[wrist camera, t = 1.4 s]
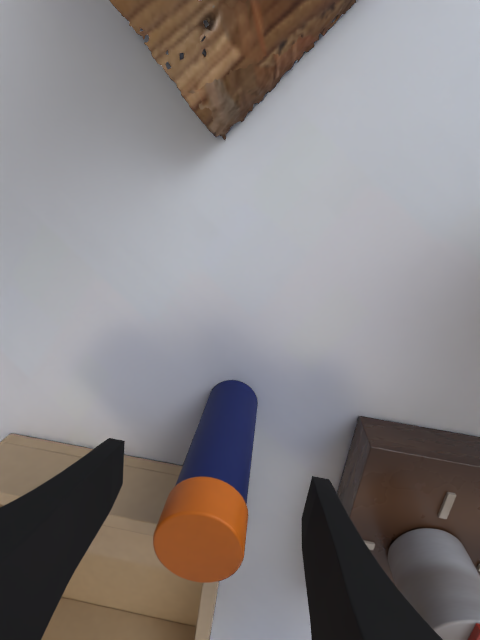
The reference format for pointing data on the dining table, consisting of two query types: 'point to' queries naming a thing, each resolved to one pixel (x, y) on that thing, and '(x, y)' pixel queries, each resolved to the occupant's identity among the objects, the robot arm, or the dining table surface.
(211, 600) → the open wooden box
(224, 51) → the bird sculpture
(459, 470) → the block
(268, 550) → the dining table surface
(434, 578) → the grey dial knob
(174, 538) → the marker
